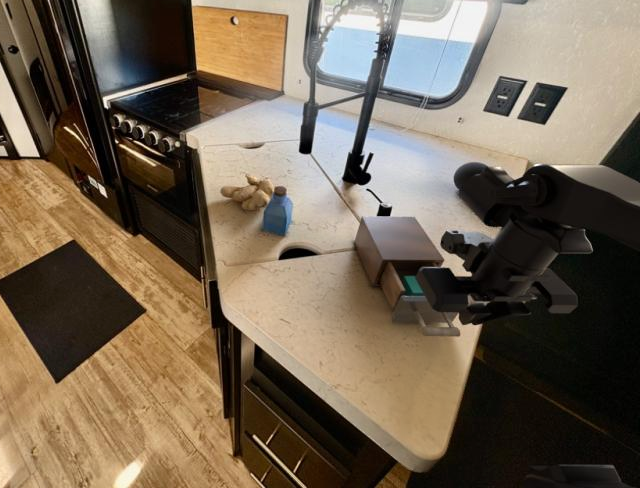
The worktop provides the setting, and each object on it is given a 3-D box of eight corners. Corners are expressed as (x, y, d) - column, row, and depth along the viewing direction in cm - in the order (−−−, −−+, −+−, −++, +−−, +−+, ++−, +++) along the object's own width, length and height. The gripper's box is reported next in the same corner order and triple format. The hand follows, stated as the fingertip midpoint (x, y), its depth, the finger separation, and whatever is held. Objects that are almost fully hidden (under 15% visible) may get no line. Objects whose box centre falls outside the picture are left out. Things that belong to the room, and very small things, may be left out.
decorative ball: (484, 205, 91) (500, 177, 86) (445, 193, 96) (459, 166, 91) (486, 190, 98) (502, 162, 92) (450, 179, 103) (463, 152, 97)
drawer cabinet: (429, 286, 68) (444, 259, 63) (372, 286, 68) (382, 259, 63) (403, 242, 79) (414, 216, 74) (354, 241, 79) (361, 216, 74)
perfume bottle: (262, 229, 83) (264, 193, 76) (269, 215, 87) (272, 180, 81) (284, 236, 81) (289, 199, 74) (290, 221, 86) (295, 185, 79)
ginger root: (294, 199, 92) (291, 179, 86) (253, 230, 86) (247, 210, 81) (260, 177, 102) (255, 158, 97) (221, 204, 97) (215, 185, 91)
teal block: (426, 305, 62) (433, 292, 60) (406, 305, 62) (413, 292, 60) (417, 288, 65) (423, 276, 63) (398, 288, 65) (404, 275, 63)
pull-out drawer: (466, 347, 56) (483, 326, 52) (403, 347, 56) (415, 326, 52) (421, 271, 70) (432, 250, 66) (371, 271, 70) (378, 250, 66)
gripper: (542, 212, 46) (492, 280, 55) (416, 211, 46) (387, 279, 55) (617, 272, 37) (542, 342, 46) (459, 271, 37) (415, 341, 46)
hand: (466, 322), depth 48 cm, fingers closed
